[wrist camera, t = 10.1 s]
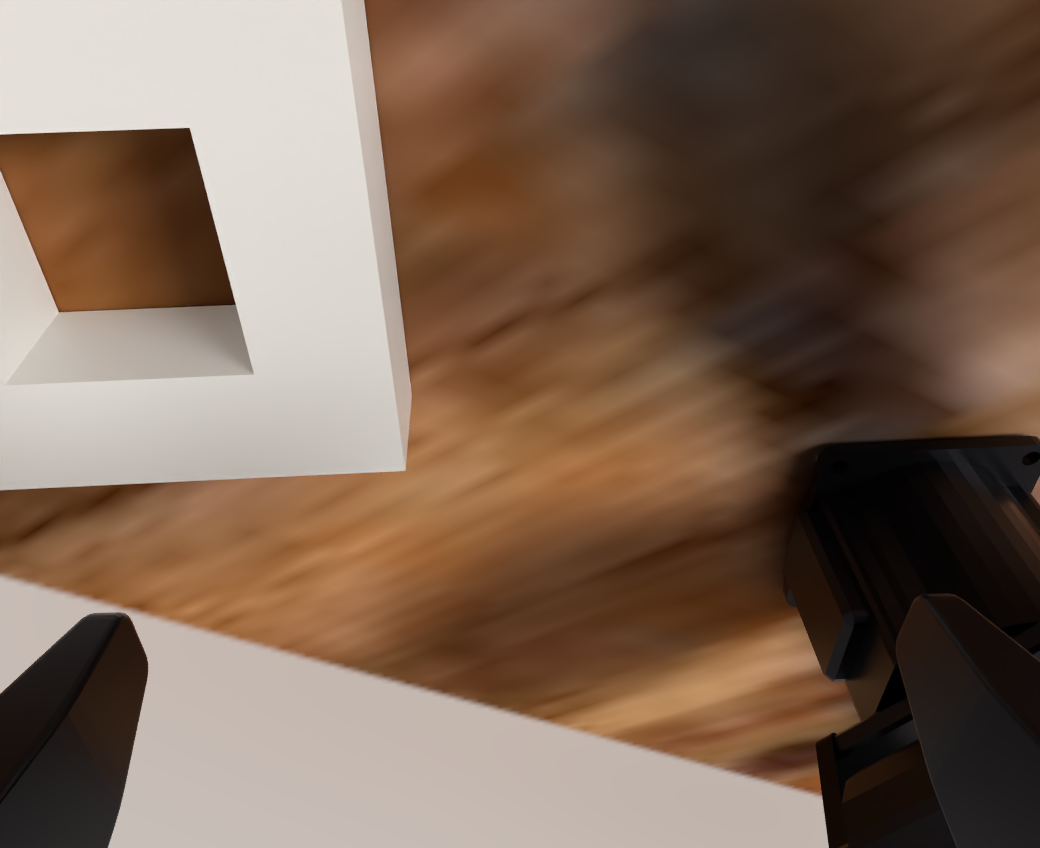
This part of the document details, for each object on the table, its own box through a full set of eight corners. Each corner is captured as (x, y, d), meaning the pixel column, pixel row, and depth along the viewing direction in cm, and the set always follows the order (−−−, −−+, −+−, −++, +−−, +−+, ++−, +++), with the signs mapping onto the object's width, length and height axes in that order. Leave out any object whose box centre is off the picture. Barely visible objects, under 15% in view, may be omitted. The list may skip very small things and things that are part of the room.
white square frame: (352, -96, 15) (331, -70, 13) (411, 395, 22) (405, 470, 20) (-272, -78, 15) (-410, -48, 12) (-16, 414, 22) (-74, 493, 19)
